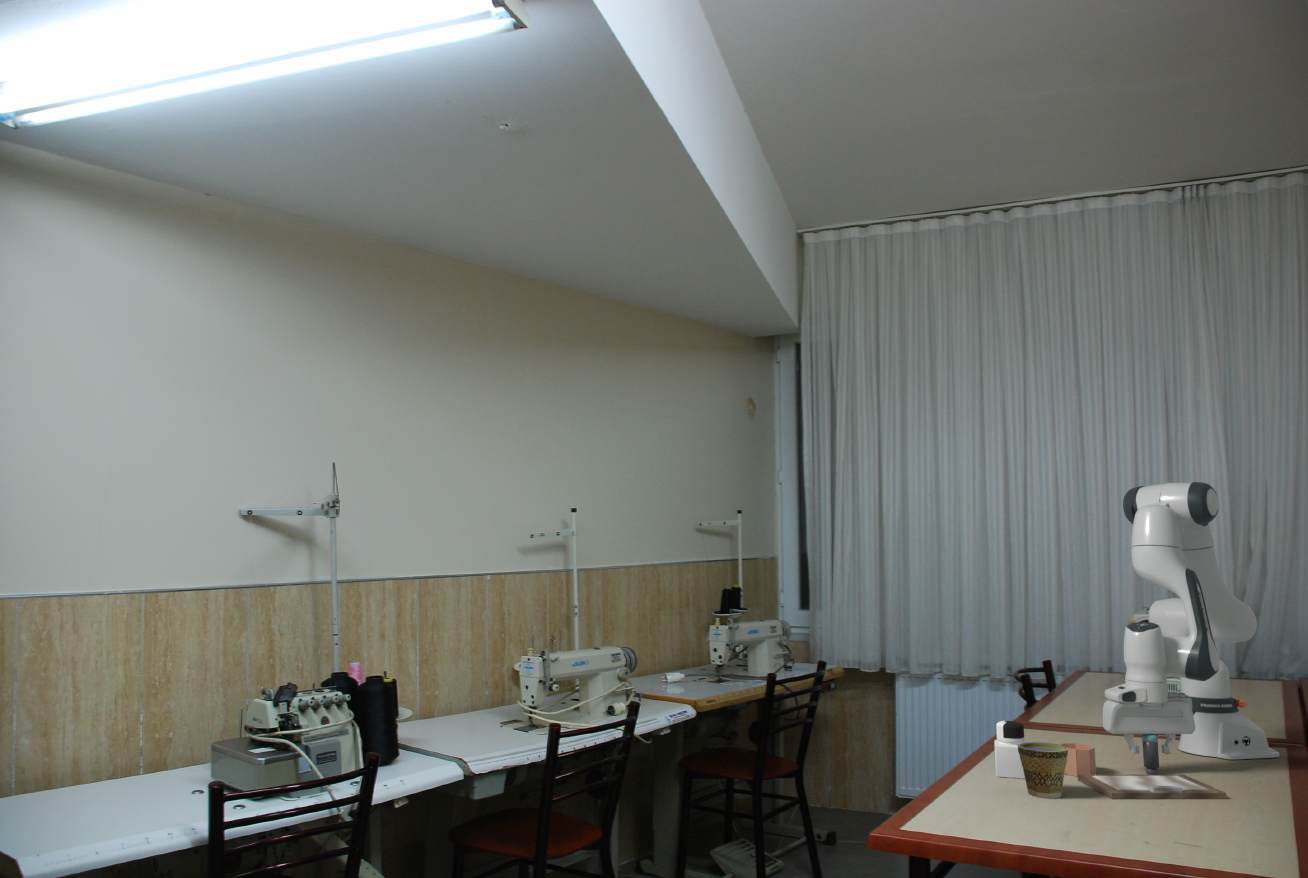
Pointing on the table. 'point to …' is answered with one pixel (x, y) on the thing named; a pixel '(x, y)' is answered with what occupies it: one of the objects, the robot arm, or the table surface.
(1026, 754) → the ceramic cup
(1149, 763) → the marker
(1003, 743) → the medicine bottle
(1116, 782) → the brown picture frame
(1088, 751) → the pen pot
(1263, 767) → the table surface
